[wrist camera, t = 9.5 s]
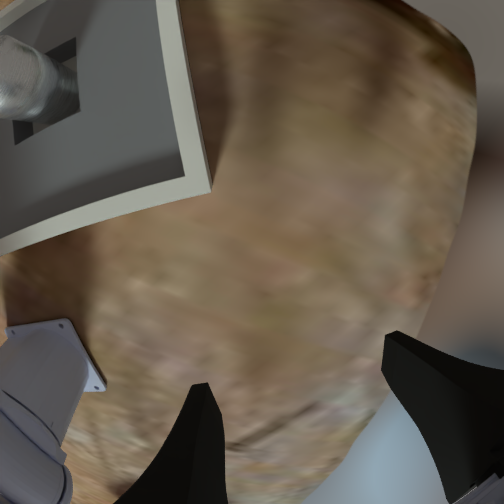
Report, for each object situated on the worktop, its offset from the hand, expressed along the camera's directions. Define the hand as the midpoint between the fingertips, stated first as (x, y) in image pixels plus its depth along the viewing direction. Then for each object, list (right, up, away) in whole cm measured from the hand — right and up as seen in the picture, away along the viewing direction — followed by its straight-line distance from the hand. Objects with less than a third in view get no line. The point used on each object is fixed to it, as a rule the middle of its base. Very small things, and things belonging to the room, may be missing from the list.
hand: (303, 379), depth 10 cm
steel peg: (-15, +15, +3) cm, 21 cm away
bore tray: (-15, +16, +4) cm, 22 cm away
